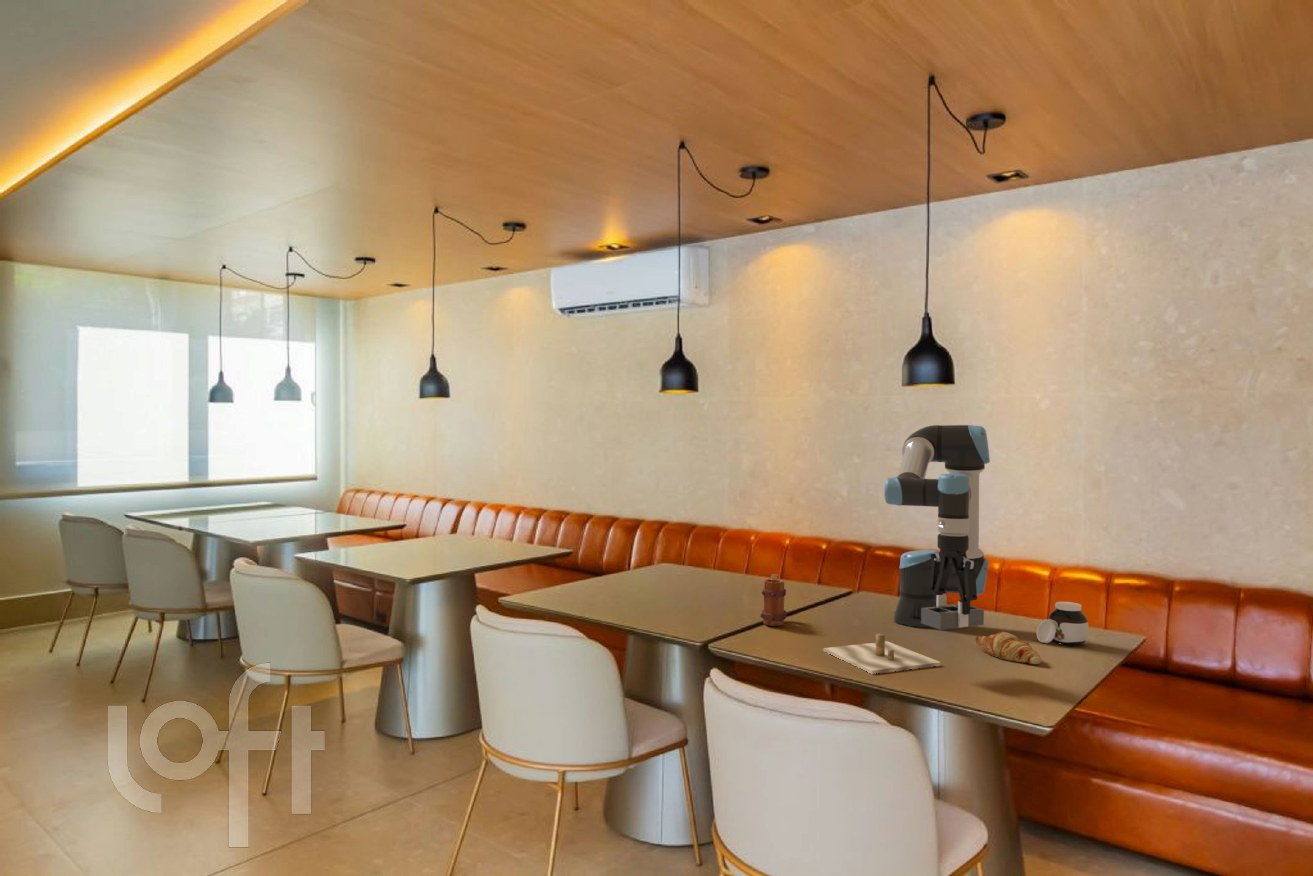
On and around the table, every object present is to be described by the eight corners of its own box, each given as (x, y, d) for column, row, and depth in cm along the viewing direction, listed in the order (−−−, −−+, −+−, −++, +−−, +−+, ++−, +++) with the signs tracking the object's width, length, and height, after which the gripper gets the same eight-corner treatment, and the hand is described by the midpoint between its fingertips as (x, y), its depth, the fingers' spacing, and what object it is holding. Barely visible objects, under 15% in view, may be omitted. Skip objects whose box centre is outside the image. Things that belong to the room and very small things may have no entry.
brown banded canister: (785, 629, 246) (786, 581, 246) (759, 627, 247) (760, 580, 247) (787, 618, 260) (788, 573, 260) (762, 617, 262) (763, 571, 261)
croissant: (1047, 678, 210) (1057, 650, 211) (1025, 665, 205) (1036, 637, 207) (981, 656, 229) (991, 631, 230) (960, 643, 224) (970, 618, 226)
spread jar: (1092, 645, 230) (1092, 606, 230) (1069, 651, 224) (1069, 610, 224) (1053, 636, 240) (1053, 598, 240) (1030, 641, 234) (1031, 602, 234)
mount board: (887, 644, 229) (887, 622, 229) (940, 665, 208) (940, 641, 208) (822, 651, 221) (823, 628, 220) (871, 674, 200) (872, 649, 200)
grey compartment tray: (963, 618, 208) (963, 603, 208) (983, 625, 202) (983, 609, 202) (921, 623, 203) (921, 607, 203) (940, 629, 196) (940, 613, 196)
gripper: (914, 530, 210) (913, 615, 210) (970, 539, 191) (969, 633, 192) (937, 528, 213) (936, 613, 213) (994, 538, 194) (993, 631, 194)
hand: (951, 623), depth 202 cm, fingers closed on grey compartment tray, 7 cm apart
